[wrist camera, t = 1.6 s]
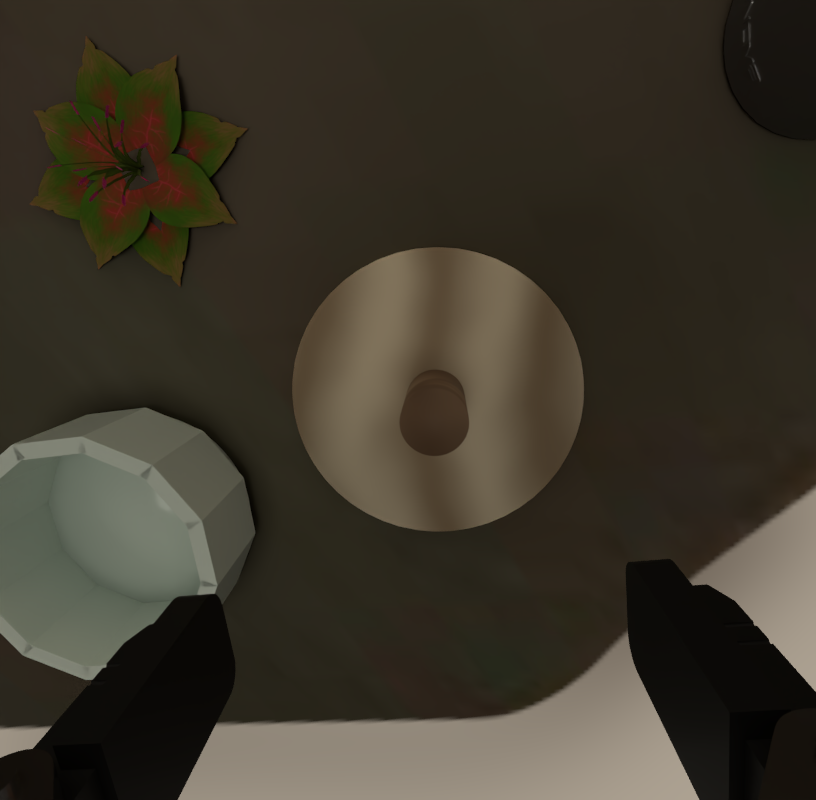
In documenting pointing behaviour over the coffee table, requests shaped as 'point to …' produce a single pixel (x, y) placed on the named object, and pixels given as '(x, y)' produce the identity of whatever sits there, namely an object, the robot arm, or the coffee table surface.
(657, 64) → the coffee table surface
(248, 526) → the bowl
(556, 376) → the lid
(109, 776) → the robot arm
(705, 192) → the coffee table surface
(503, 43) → the coffee table surface
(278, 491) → the coffee table surface
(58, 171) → the lily flower
